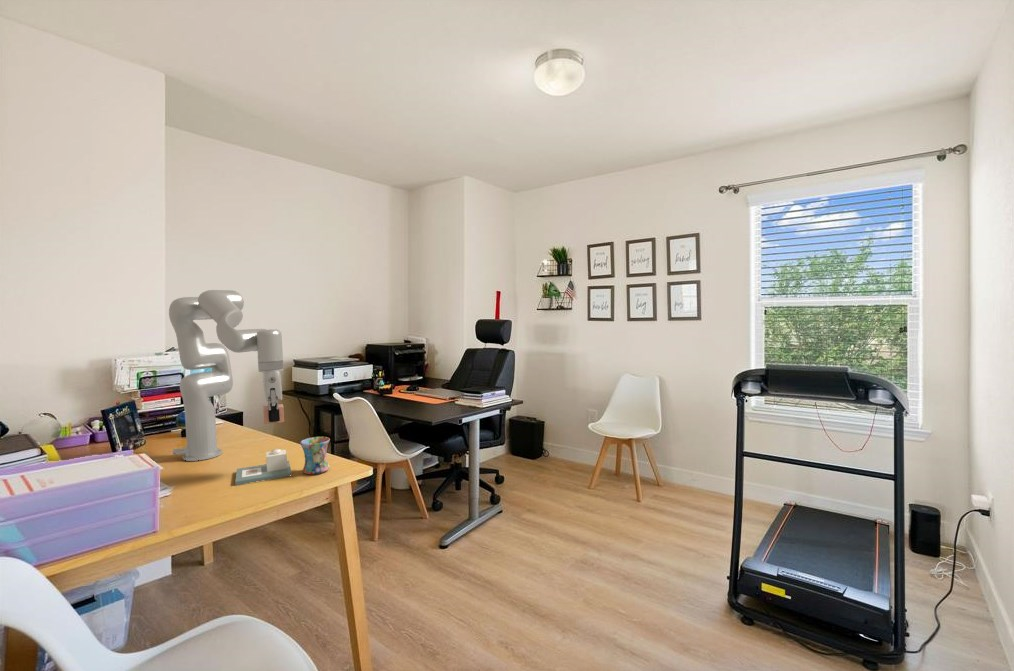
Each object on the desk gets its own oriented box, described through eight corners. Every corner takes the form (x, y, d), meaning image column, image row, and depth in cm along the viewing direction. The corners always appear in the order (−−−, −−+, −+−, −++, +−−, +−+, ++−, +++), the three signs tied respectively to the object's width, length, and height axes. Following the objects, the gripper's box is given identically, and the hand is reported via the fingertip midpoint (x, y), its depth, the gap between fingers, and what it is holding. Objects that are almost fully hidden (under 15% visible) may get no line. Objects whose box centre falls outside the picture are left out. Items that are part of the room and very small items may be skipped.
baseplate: (235, 485, 148) (234, 462, 147) (236, 472, 160) (235, 451, 160) (291, 475, 155) (290, 454, 155) (288, 464, 168) (287, 444, 167)
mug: (297, 471, 160) (295, 440, 159) (324, 465, 166) (323, 435, 165) (310, 480, 151) (309, 447, 150) (339, 473, 157) (337, 441, 156)
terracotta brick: (264, 424, 156) (263, 409, 155) (263, 420, 161) (263, 406, 161) (284, 421, 158) (283, 407, 158) (283, 418, 164) (282, 404, 163)
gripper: (284, 368, 153) (287, 423, 154) (281, 363, 168) (284, 413, 169) (258, 370, 149) (261, 426, 150) (258, 365, 164) (261, 416, 165)
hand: (273, 419), depth 160 cm, fingers closed on terracotta brick, 6 cm apart
